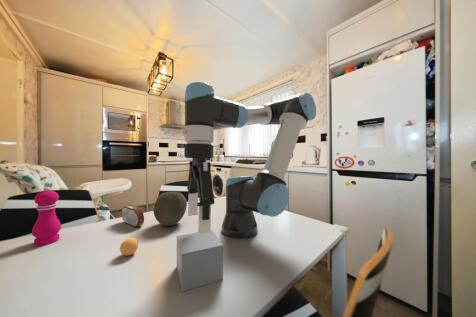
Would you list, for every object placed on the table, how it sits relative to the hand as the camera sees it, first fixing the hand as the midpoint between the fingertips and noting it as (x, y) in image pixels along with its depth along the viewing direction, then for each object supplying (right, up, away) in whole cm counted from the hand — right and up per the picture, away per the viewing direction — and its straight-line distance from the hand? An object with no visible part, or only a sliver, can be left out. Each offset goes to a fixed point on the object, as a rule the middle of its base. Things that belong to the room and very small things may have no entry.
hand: (197, 222), depth 47 cm
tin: (-38, -13, +33) cm, 52 cm away
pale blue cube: (0, -14, 0) cm, 14 cm away
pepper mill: (-59, -13, +17) cm, 62 cm away
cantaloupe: (-20, -13, +34) cm, 42 cm away
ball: (-24, -11, +9) cm, 28 cm away
